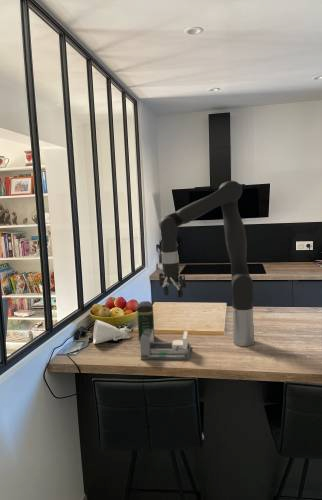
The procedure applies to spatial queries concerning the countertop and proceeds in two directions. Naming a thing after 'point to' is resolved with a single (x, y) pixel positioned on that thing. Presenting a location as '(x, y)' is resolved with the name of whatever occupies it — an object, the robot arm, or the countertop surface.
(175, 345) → the cream t-shaped handle
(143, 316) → the coffee jar
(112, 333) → the funnel
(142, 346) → the frame
